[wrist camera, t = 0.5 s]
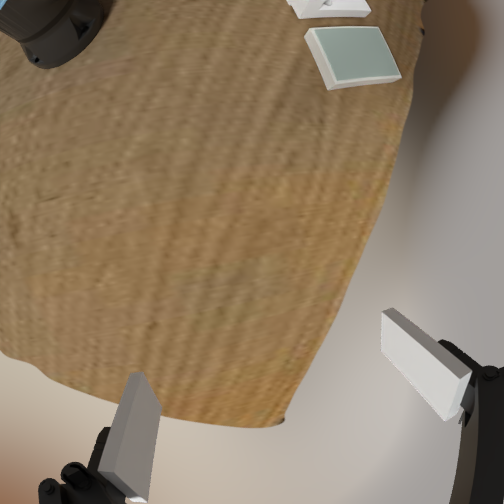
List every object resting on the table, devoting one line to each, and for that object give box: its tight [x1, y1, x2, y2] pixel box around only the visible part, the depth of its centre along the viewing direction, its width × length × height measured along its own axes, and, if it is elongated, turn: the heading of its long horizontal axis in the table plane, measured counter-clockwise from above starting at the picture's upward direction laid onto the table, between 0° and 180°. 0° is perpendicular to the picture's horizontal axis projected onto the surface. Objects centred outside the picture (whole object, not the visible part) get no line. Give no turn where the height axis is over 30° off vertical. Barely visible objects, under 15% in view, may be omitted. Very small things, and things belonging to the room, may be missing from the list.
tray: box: [304, 26, 402, 90], centre depth 33 cm, size 10×13×3 cm
